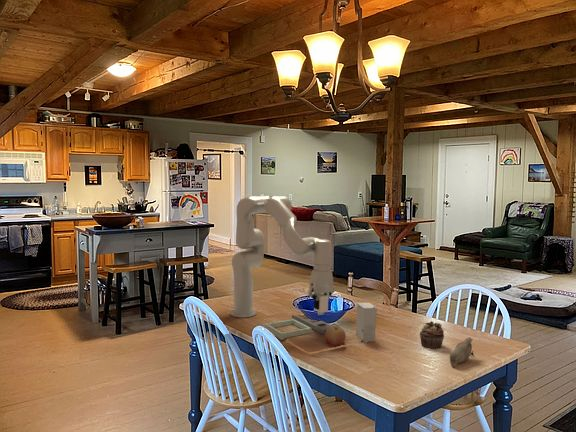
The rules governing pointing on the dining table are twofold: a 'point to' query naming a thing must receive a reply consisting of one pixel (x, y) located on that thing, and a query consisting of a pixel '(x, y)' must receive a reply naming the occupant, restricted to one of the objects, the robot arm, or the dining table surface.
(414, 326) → the dining table surface
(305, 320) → the power strip
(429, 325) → the cupcake
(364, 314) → the skincare box
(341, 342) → the fruit
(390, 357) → the dining table surface
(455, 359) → the decorative bird
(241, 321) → the dining table surface
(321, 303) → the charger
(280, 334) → the green square frame
